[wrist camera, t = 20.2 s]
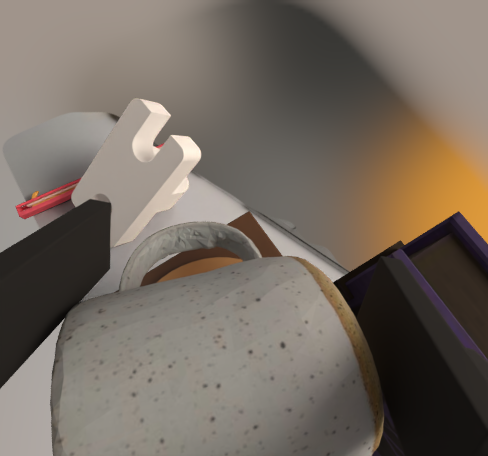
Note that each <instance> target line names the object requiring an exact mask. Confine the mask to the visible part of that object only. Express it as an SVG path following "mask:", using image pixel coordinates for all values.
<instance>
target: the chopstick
mask: <svg viewBox="0 0 488 456" xmlns="http://www.w3.org/2000/svg"><path fill="white" fill-rule="evenodd" d="M163 145H164V144H161V145H159V146H157V147H156V148H158V149H161V147H162V146H163ZM80 180H81V178H80V179H77V180H75V181H73V182H70V183H68V184H66V185H63V186H61V187H59V188H56V189H54V190H52V191H49V192H47V193H45V194H42V195H40V196H38V197H37V194H38V193H39V191H36V192H34V193H33V195H32V199H31V200H28V201H26V202H24V203H21V204H19V205H17V206H16V209H17V211H18V214H19V217H21V218H23V219H26V218H29V217H31V216H33V215H36V214H38V213H40V212H42V211H45V210H47V209H49V208H52V207H54V206H56V205H58V204H61V203H63V202H65V201H67V200H70V199H71V195H72V193H73V191H74V189H75V188H76V186H77V185H78V183H79V181H80ZM77 182H78V183H77ZM70 185H71V186H70ZM63 188H64V189H63ZM61 189H62V190H61ZM56 191H57V192H56ZM54 192H55V193H54ZM49 194H50V195H49ZM47 195H48V196H47ZM31 202H32V203H31ZM29 203H30V204H29ZM26 204H28V205H26ZM24 205H25V206H24ZM22 206H23V207H22ZM30 207H31V209H30ZM28 208H29V209H28ZM23 210H24V211H23Z"/></svg>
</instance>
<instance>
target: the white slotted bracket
mask: <svg viewBox="0 0 488 456" xmlns="http://www.w3.org/2000/svg"><path fill="white" fill-rule="evenodd" d="M170 116H171V115H170V114H169V113H168V112H167V111H166V109H165V108H164V107H163V106H162V105H161V104H160V103H156V102H152V101H147V100H142V99H138V98H135V99H133V100H131V102H130V103H129V105H128V106H127V108H126V109H125V111H124V113H123V114H122V116H121V117H120V119H119V120H118V122H117V123H116V125H115V127H114V128H113V130H112V131H111V133H110V134H109V136H108V138H107V139H106V141H105V142H104V144H103V145H102V147H101V149H100V150H99V152H98V153H97V155H96V156H95V158H94V160H93V161H92V163H91V164H90V166H89V167H88V169H87V171H86V172H85V174H84V175H83V177H82V178H81V180H80V182H79V183H78V185H77V186H76V188H75V189H74V191H73V193H72V195H71V199H72V202H73V204H74V206H75V207H77V206H79V205H81V204H82V203H84V202H86V201H87V200H89V199H94V200H99V201H104V202H109V201H110V202H111V206H112V213H111V229H110V248H112V247H116V246H119V245H122V244H125V243H128V242H131V241H133V240H134V239H135V238H136V237H137V235H138V234H139V233H140V232H141V231H142V229H143V228H144V227H145V226H146V225H147V223H148V222H149V221H150V220H151V219H152V217H153V216H154V215H155V214H156V213H157V212H161V211H165V210H168V209H170V208H172V207H173V206H174V204H175V203H176V202H177V201H178V200H179V199H180V197H181V196H182V195H183V194H184V193H185V192H186V190H187V189H188V187H189V182H188V178H187V175H188V174H189V173H190V171H191V170H192V169H193V168H194V167H195V165H196V164H197V163H198V162H199V160H200V158H201V152H200V149H199V148H198V146H197V145H196V144H195V143H194V142H193V141H192V139H191V138H190V137H187V136H177V135H170V137H169V138H168V140H167V141H166V142H165V143H164V145H163V146H162V147H161V149H158V148H156V147H154V146H153V141H154V139H155V137H156V136H157V135H158V133H159V132H160V130H161V129H162V127H163V126H164V125H165V123H166V122H167V121H168V119H169V118H170Z"/></svg>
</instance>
